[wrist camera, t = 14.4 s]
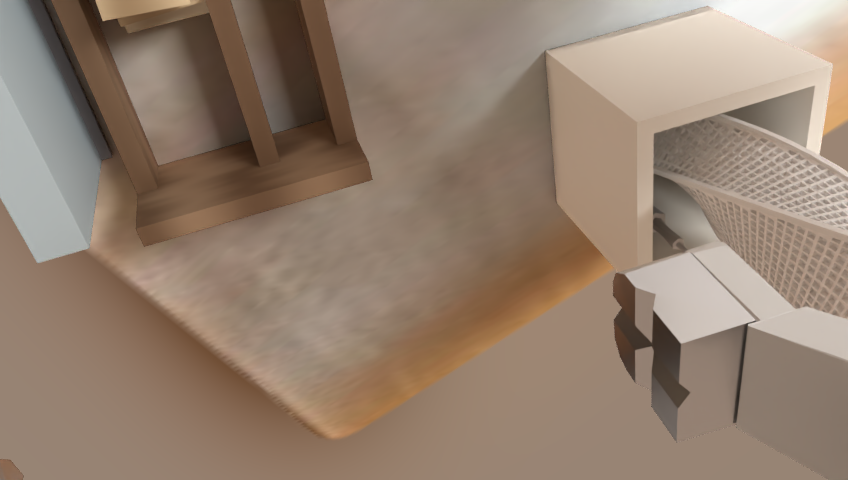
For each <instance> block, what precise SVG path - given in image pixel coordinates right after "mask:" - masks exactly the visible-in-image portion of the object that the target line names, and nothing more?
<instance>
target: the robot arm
mask: <svg viewBox="0 0 848 480" xmlns="http://www.w3.org/2000/svg"><path fill="white" fill-rule="evenodd" d="M613 296H614V298H615V299H616V300H617V302H618V303H619V304H620V306H621V307H622V308H621V310H620V311H619V313H618V314H617V316H616V317H615V319H614V333H615V341H616V344H617V348H618V351H619V354H620V358H621V360H622V362H623V363H624V366H625V368H626V370H627V371H628V373H629V374H630V376H631V377H632V379H633V380H634V382H635V383H636V384H638V385H640V386H642V387H645V388H647V389H649V390H651V392H652V393H651V394H652V395H651V398H652V399H651V403H652V404H651V405H652V406H651V407H652V408H653V410H654V411H655V413H656V414H657V415H658V417H659V418H660V420H661V421H662V422H663V424H664V425H665V427H666V428H667V430H668V431H669V433H670V434H671V435H672V437H673V438H674V440H675V441H676V442H680V441H684V440H687V439H690V438H694V437H697V436H700V435H704V434H707V433H710V432H713V431H717V430H720V429H723V428H727V427H730V426H733V425H736V428H737V429H739V430H741V431H743V432H744V433H746V434H748V435H750V436H752V437H753V438H755V439H757V440H758V441H760V442H762V443H764V444H766V445H767V446H769V447H771V448H773V449H775V450H776V451H778V452H780V453H782V454H784V455H785V456H787V457H789V458H791V459H792V460H794V461H796V462H798V463H800V464H801V465H803V466H805V467H807V468H809V469H810V470H812V471H814V472H816V473H818V474H819V475H821V476H823V477H825V478H826V479H828V480H848V319H845V318H841V317H838V316H835V315H832V314H829V313H826V312H823V311H819V310H816V309H813V308H810V307H807V306H805V307H802V308H799V309H795V308H794V307H793V306H792V305H791V304H790V303H789V302H788V301H787V300H785V299H784V298H783V297H782V296H781V295H780V294H779V293H778V292H777V291H776V290H775V289H774V288H773V287H772V286H771V285H769V284H768V283H767V282H766V281H765V280H764V279H763V278H762V277H761V276H760V275H759V274H758V273H757V272H756V271H754V270H753V269H752V268H751V267H750V266H749V265H748V264H747V263H746V262H745V261H744V260H743V259H742V258H741V257H739V256H738V255H737V254H736V253H735V252H734V251H733V250H732V249H731V248H730V247H729V246H728V245H727V244H725V243H723V242H720V241H714V242H711V243H708V244H705V245H702V246H698V247H695V248H692V249H689V250H686V251H684V252H683V253H678V254H675V255H671V256H668V257H665V258H662V259H659V260H655V261H652V262H649V263H646V264H643V265H639V266H636V267H633V268H630V269H626V270H623V271H620V272H617V273H616V274H615V277H614V280H613ZM23 477H24V476H23V474H22V473H21V472H20V471H19V469H18V468H17V467H16V466H15V465H14V464H13V462H12V461H11V460H6V459H0V480H23Z"/></svg>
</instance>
